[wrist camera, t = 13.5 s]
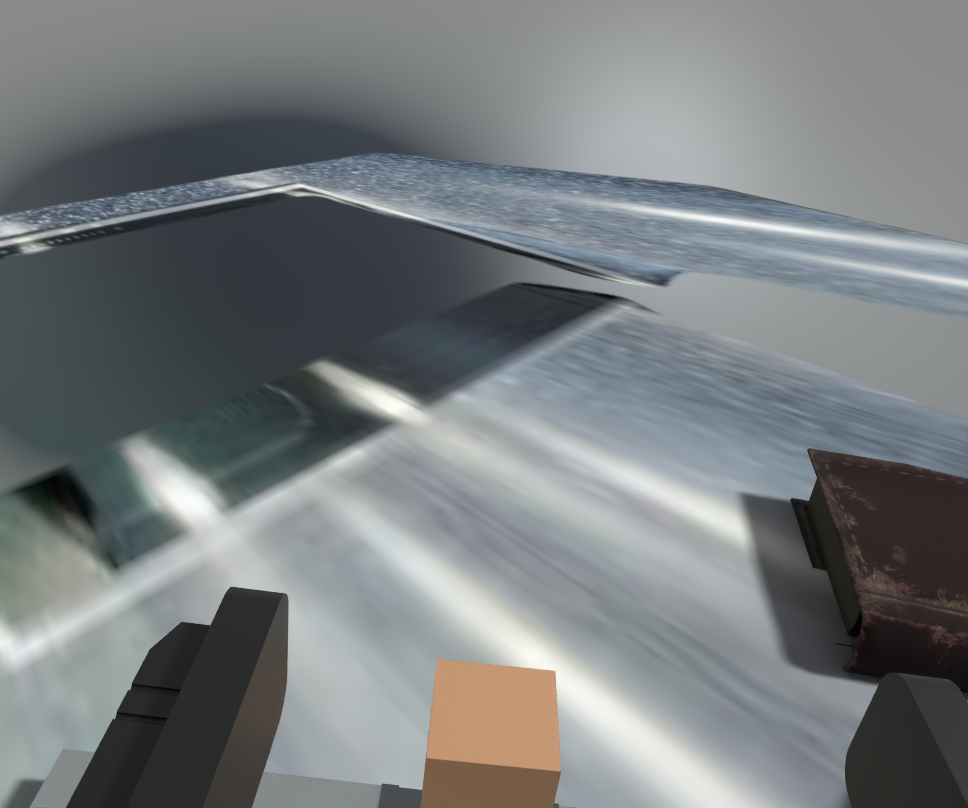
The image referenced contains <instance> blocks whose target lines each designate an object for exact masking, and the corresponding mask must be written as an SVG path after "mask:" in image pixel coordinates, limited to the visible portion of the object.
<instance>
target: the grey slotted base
mask: <svg viewBox="0 0 968 808" xmlns="http://www.w3.org/2000/svg"><path fill="white" fill-rule="evenodd" d="M94 754H95V752H86V751H77V750H69V749H63V751H62V752H61V754H60V756H59V757H58V759H57V761H56V763H55V764H54V766H53V768H52V769H51V771H50V773H49V775H48V776H47V778H46V780H45V781H44V783H43V785H42V787H41V788H40V790H39V792H38V793H37V795H36V797H35V799H34V800H33V802H32V804H31V805H30V807H29V808H66V806H67V804H68V802H69V801H70V799H71V797H72V795H73V793H74V791H75V789H76V787H77V786H78V784H79V782H80V780H81V778H82V776H83V774H84V772H85V770H86V769H87V767H88V765H89V763H90V761H91V759H92V757H93V755H94ZM421 799H422V790H417V789H408V788H400V787H399V785H390V784H382V785H373V784H365V783H356V782H347V781H339V780H330V779H321V778H312V777H304V776H295V775H286V774H278V773H269V772H263V775H262V778H261V781H260V784H259V787H258V790H257V793H256V797H255V800H254V803H253V806H252V808H420V807H421ZM553 808H574V807H565V806H559V804H556V803H554V805H553Z"/></svg>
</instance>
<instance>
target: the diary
mask: <svg viewBox="0 0 968 808" xmlns="http://www.w3.org/2000/svg"><path fill="white" fill-rule="evenodd" d="M807 451H808V454H809V457H810V460H811V462H812V465H813V468H814V471H815V473H816V476H817V480H816V483H815V485H814V488H813V491H812V494H811V497H810V500H809V501H806V500H800V499H794V498H792V499H791V502H792V505H793V508H794V512H795V515H796V518H797V521H798V524H799V527H800V530H801V533H802V536H803V539H804V542H805V546H806V549H807V552H808V555H809V558H810V561H811V564H812V567H813V568H817V569H822V570H826V571H827V573H828V576H829V579H830V582H831V585H832V588H833V591H834V594H835V597H836V600H837V603H838V606H839V609H840V612H841V615H842V618H843V622H844V625H845V628H846V631H847V634H848V635H853V636H858V637H857V638H856V640H855V641H854V642H853V643H852V644H851V646H850V647H852V649H853V650H855V651H854V654H853V656H852V658H851V660H849V661H848V662H847V663H846V664H845V665H844V666H843V670H844V671H849V672H854V673H860V674H865V675H871V676H877V677H884V676H885V675H887V674H888V673H901V674H909V675H917V676H925V677H933V678H941V679H948V680H950V681H952V682H953V683H955V684H956V685H957V686H958V688H959V689H960V691H964V692H968V478H963V477H959V476H955V475H951V474H946V473H942V472H938V471H934V470H930V469H925V468H921V467H917V466H913V465H908V464H904V463H897V462H891V461H885V460H879V459H872V458H866V457H860V456H853V455H847V454H841V453H835V452H828V451H822V450H816V449H810V448H809V449H808V450H807ZM836 644H838V643H836ZM839 645H844V644H839ZM845 646H849V645H845Z"/></svg>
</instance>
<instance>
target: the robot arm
mask: <svg viewBox="0 0 968 808" xmlns="http://www.w3.org/2000/svg"><path fill="white" fill-rule="evenodd" d="M287 657H288V596H287V594H284V593H277V592H269V591H261V590H253V589H245V588H237V587H230V588H229V589H228V590H227V592H226V594H225V595H224V597H223V600H222V602H221V604H220V606H219V608H218V610H217V613H216V615H215V617H214V619H213V621H212V623H211V626H210V625H203V624H195V623H187V622H181V623H180V624H179V625H178V626H176V627H175V628H174V629H173V630H172V631H171V632H169V633H168V634H167V635H166V636H165V637H164V638H162V639H161V640H160V641H159V642H158V643H157V644H155V645H154V646H153V647H152V648H151V649H150V650H149V652H148V654H147V656H146V658H145V660H144V661H143V663H142V665H141V667H140V669H139V671H138V673H137V675H136V676H135V678H134V680H133V682H132V687H131V690H128V692H127V693H126V695H125V697H124V699H123V701H122V703H121V705H120V707H119V708H118V710H117V715H116V718H115V719H113V720H112V722H111V723H110V725H109V727H108V729H107V731H106V733H105V735H104V737H103V739H102V740H101V742H100V744H99V746H98V748H97V750H96V752H95V754H94V755H93V757H92V759H91V761H90V763H89V765H88V767H87V769H86V770H85V772H84V774H83V776H82V778H81V780H80V782H79V784H78V786H77V787H76V789H75V791H74V793H73V795H72V797H71V799H70V801H69V802H68V804H67V806H66V808H252V806H253V803H254V800H255V797H256V793H257V790H258V787H259V784H260V781H261V778H262V775H263V771H264V768H265V765H266V762H267V759H268V756H269V753H270V750H271V746H272V743H273V740H274V737H275V734H276V731H277V728H278V724H279V721H280V717H281V713H282V708H283V703H284V698H285V691H286V684H287ZM845 779H846V787H847V792H848V796H849V799H850V802H851V804H852V807H853V808H968V703H967V701H966V699H965V697H964V696H963V694H962V692H961V691H960V689H959V688H958V686H957V685H956V684H955V683H953V682H952V681H950V680H948V679H941V678H933V677H925V676H917V675H909V674H901V673H888V674H887V675H885V676H884V677H883V679H882V680H881V682H880V684H879V686H878V688H877V690H876V692H875V694H874V696H873V698H872V700H871V702H870V704H869V706H868V709H867V711H866V713H865V715H864V717H863V719H862V721H861V723H860V725H859V727H858V729H857V731H856V734H855V736H854V738H853V740H852V742H851V744H850V746H849V749H848V752H847V756H846V763H845Z"/></svg>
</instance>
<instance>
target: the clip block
mask: <svg viewBox="0 0 968 808" xmlns="http://www.w3.org/2000/svg"><path fill="white" fill-rule="evenodd" d="M560 773H561V764H560V746H559V729H558V711H557V694H556V676H555V671H550V670H540V669H530V668H520V667H511V666H501V665H491V664H482V663H472V662H462V661H452V660H443V659H437V664H436V673H435V682H434V691H433V700H432V709H431V718H430V727H429V736H428V745H427V754H426V763H425V772H424V781H423V790H422V799H421V807H420V808H553V805H554V801H555V796H556V792H557V787H558V783H559V778H560Z"/></svg>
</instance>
